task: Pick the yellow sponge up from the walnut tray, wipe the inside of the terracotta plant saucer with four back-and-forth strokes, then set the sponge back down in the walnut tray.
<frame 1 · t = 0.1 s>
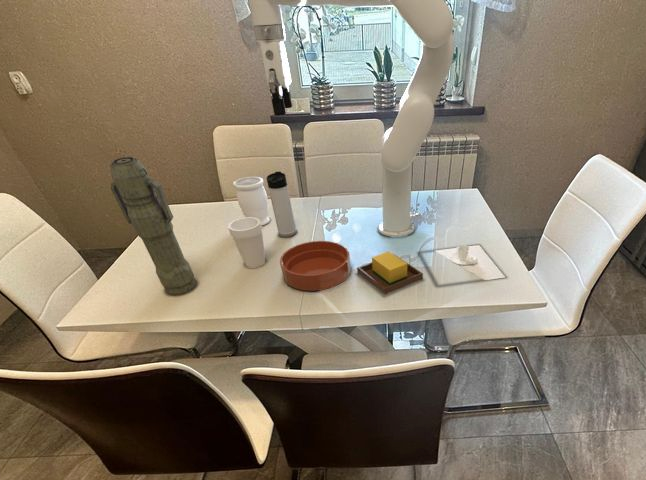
hand: (283, 111, 109), 37 cm above the table, tool pointing down, fingers open, 9 cm apart
travel mug: (288, 233, 134), on the table
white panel: (459, 264, 113), on the table
jar: (258, 222, 143), on the table
foam cup: (255, 263, 120), on the table
terracotta plant saucer: (317, 273, 113), on the table
tray: (389, 277, 110), on the table
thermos: (182, 287, 111), on the table
sponge: (389, 275, 109), resting on tray
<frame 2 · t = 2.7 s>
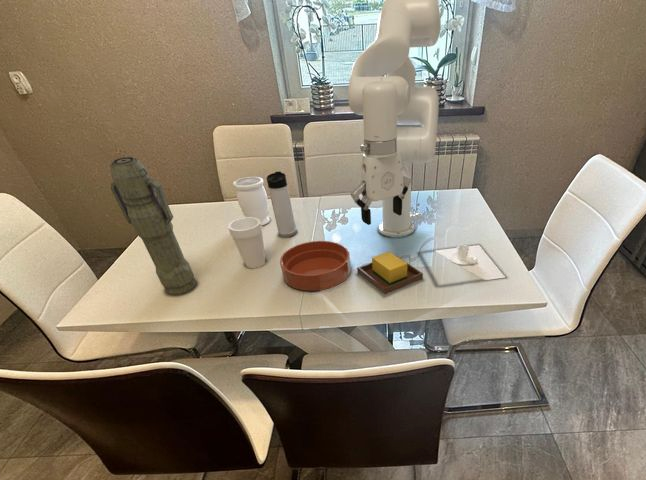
hand: (382, 218, 99), 17 cm above the table, tool pointing down, fingers open, 9 cm apart
nothing on the table moved.
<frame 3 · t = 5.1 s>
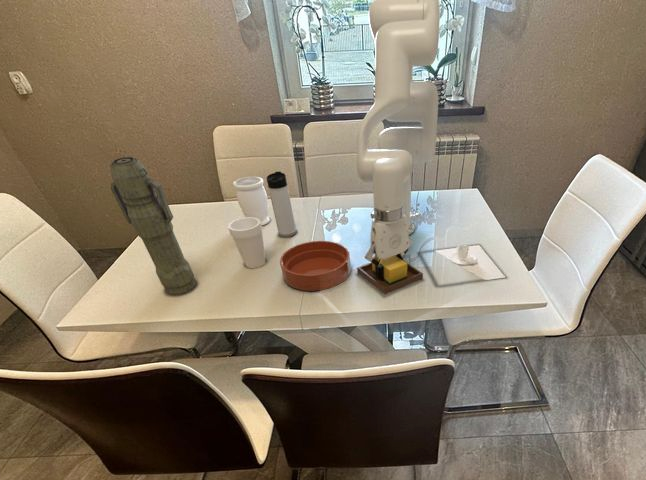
hand: (389, 272, 109), 2 cm above the table, tool pointing down, fingers closed on sponge, 6 cm apart
sponge: (389, 275, 109), point 1 cm above the table, touching gripper, tray
everything else where it was.
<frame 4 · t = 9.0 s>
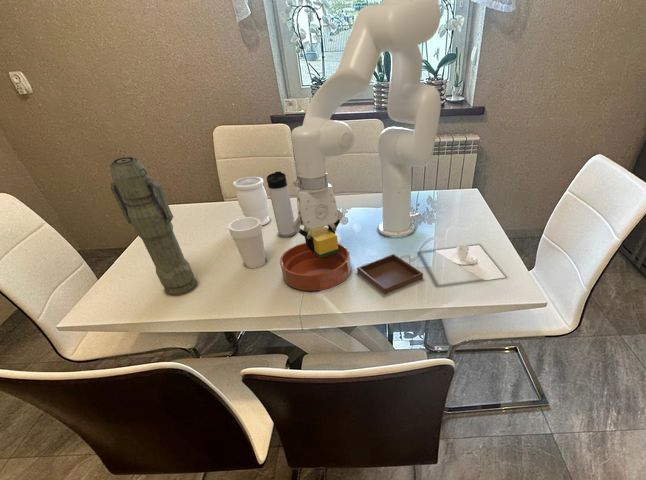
hand: (321, 245, 109), 8 cm above the table, tool pointing down, fingers closed on sponge, 6 cm apart
sponge: (322, 249, 109), point 7 cm above the table, touching gripper
everything else where it was.
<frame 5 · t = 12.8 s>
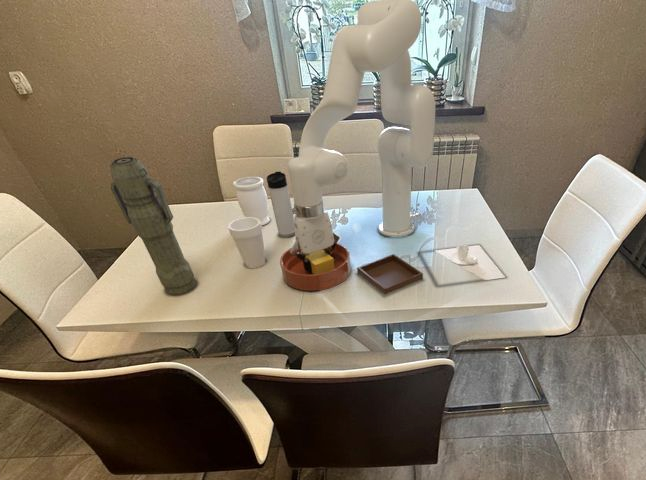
hand: (318, 267, 112), 2 cm above the table, tool pointing down, fingers closed on sponge, 6 cm apart
sponge: (319, 270, 113), point 1 cm above the table, touching gripper
everything else where it was.
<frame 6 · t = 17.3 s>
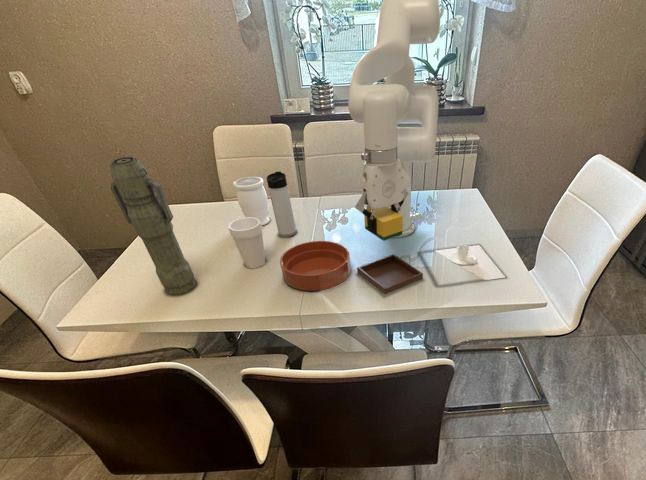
hand: (383, 227, 100), 15 cm above the table, tool pointing down, fingers closed on sponge, 6 cm apart
sponge: (383, 231, 100), point 14 cm above the table, touching gripper
everything else where it was.
when the fingers open (1 cm above the table, at t = 20.9 s): sponge stays where it is, resting on tray.
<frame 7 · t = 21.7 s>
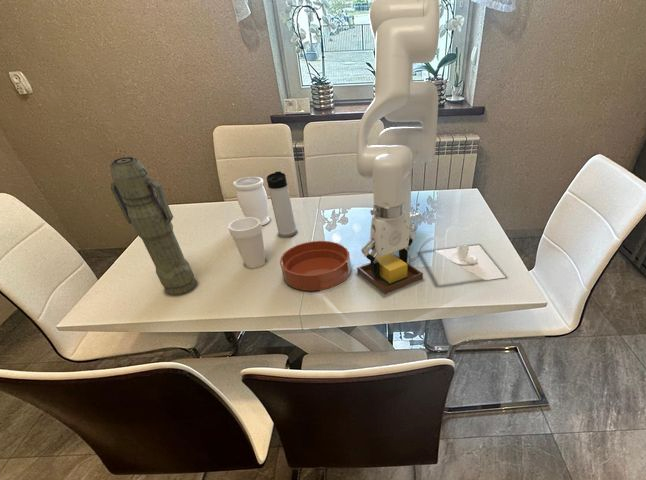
hand: (389, 267, 108), 3 cm above the table, tool pointing down, fingers open, 9 cm apart
sponge: (389, 276, 109), resting on tray
everything else where it was.
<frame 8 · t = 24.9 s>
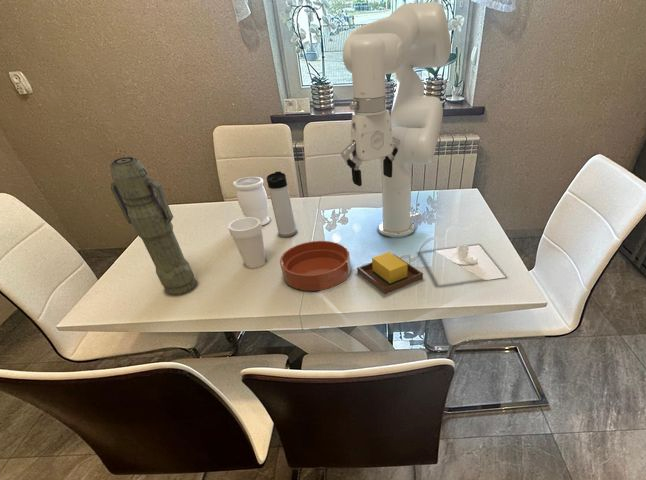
hand: (372, 180, 100), 24 cm above the table, tool pointing down, fingers open, 9 cm apart
nothing on the table moved.
at the end: sponge inside the target area in the tray (0.2 cm from its centre), point 0.5 cm above the tray's base; sponge tilted 0°; terracotta plant saucer moved 0.0 cm from its start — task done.
